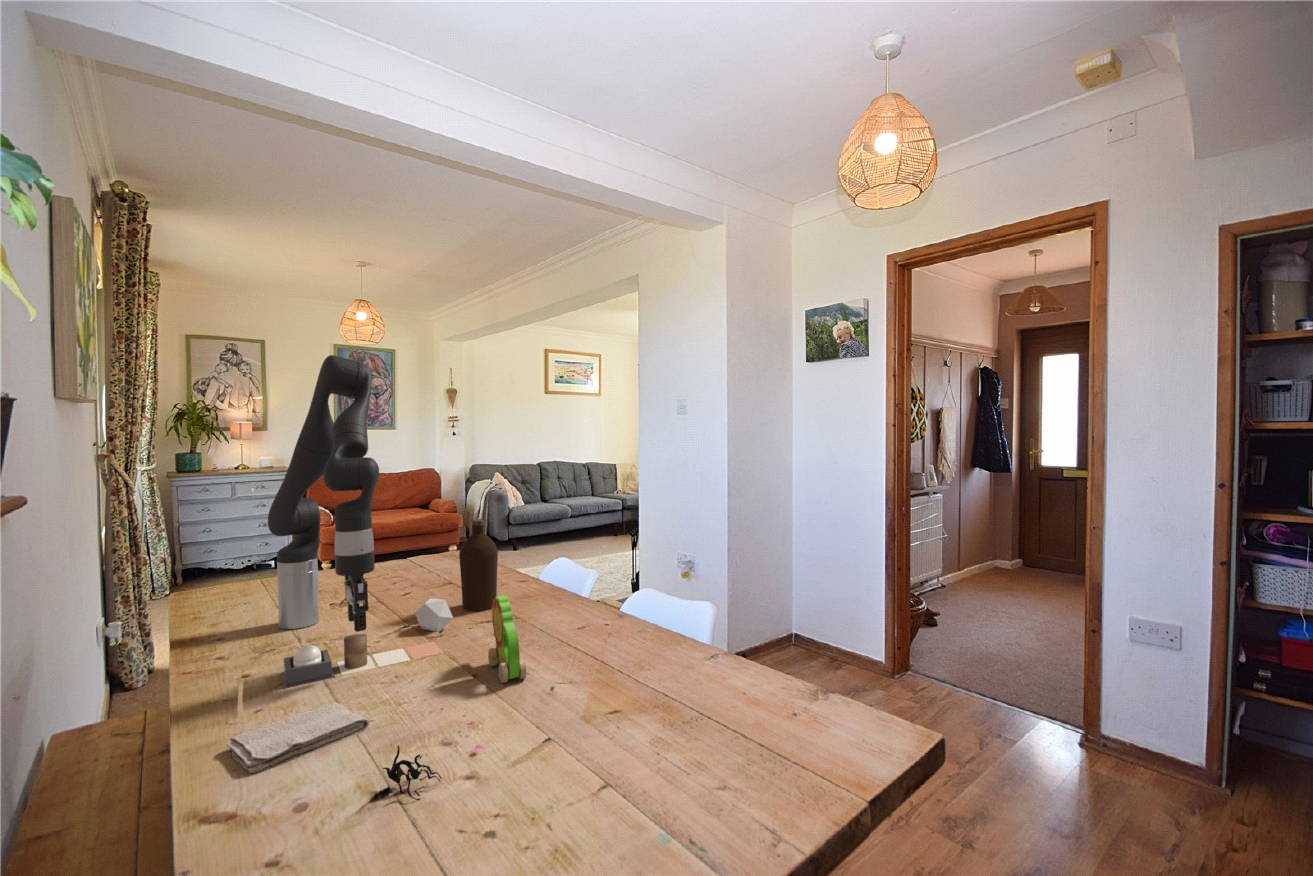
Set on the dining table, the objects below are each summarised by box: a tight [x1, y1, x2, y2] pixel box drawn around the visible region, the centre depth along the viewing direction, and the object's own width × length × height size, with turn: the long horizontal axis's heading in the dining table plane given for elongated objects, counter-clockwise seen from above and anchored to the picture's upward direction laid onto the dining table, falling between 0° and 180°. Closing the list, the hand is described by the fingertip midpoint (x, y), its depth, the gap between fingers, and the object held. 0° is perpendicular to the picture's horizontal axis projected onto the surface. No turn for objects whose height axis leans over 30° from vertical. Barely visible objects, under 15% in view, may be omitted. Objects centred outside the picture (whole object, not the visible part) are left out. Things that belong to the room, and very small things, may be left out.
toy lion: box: [487, 595, 527, 684], centre depth 127 cm, size 16×5×15 cm, turn 27°
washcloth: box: [226, 702, 370, 774], centre depth 99 cm, size 12×18×3 cm, turn 142°
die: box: [414, 597, 454, 633], centre depth 152 cm, size 8×9×10 cm
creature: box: [382, 745, 443, 801], centre depth 86 cm, size 8×5×8 cm
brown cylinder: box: [343, 633, 368, 669], centre depth 128 cm, size 4×4×6 cm
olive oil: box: [458, 518, 499, 612], centre depth 172 cm, size 11×11×25 cm
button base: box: [280, 649, 336, 689], centre depth 123 cm, size 9×9×4 cm
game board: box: [336, 641, 444, 676], centre depth 132 cm, size 10×22×1 cm, turn 124°
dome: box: [293, 644, 321, 668], centre depth 123 cm, size 5×5×6 cm
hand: (357, 625), depth 128 cm, fingers open, 8 cm apart
